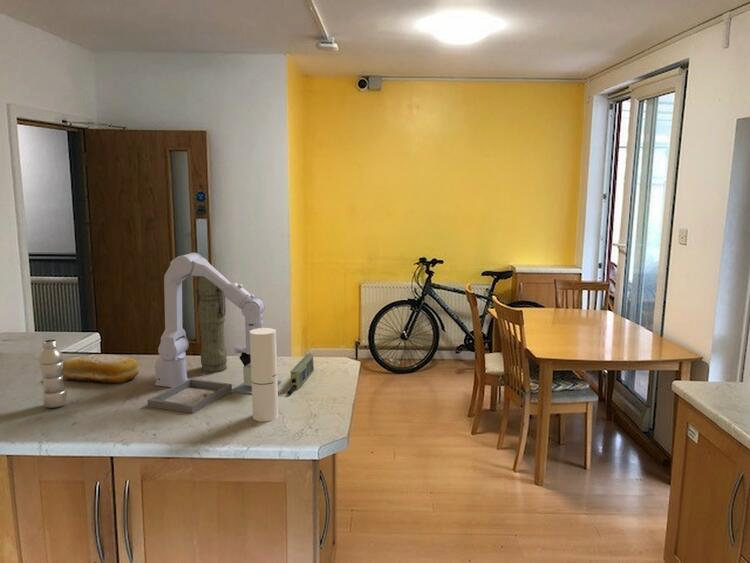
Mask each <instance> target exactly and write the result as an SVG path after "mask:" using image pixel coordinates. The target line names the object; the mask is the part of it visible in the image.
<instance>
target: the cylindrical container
mask: <svg viewBox="0 0 750 563" xmlns="http://www.w3.org/2000/svg"><path fill="white" fill-rule="evenodd" d="M276 350H277V330H276V329H274V328H271V327H263V328H258V329H253V330H251V331H250V354H251V381H252V395H251V399H252V400H251V401H252V402H251V405H252V418H253V420H254V421H257V422H271V421H274V420H276V419H277V418H278V417H279V397H278V396H279V393H278V392H279V391H278V389H279V388H278V387H279V386H278V385H277V380H278V362H277V361H278V359H277V358H278V356H277V353H276Z"/></svg>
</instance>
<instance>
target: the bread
mask: <svg viewBox="0 0 750 563" xmlns="http://www.w3.org/2000/svg"><path fill="white" fill-rule="evenodd" d="M139 370H140V369H139V362H138V361H137V360H135V359H134V358H131V357H128V356H124V355H117V354H116V355H115V354H104V353H103V354H101V353H100V354H93V353H92V354H88V355H81V356H80V355H79V356H75V357H70V358H68V359H67V360H65V361H63V378H65V379H67V380H70V381H71V380H72V381H83V382H89V383H90V382H91V383H95V384H96V383H97V384H98V383H99V384H113V385H115V384H119V383H122V382H123V383H124V382H126V381H130V380H134V379H135V377H136V376H138V374H139V372H140V371H139Z"/></svg>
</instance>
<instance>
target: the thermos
mask: <svg viewBox="0 0 750 563" xmlns="http://www.w3.org/2000/svg"><path fill="white" fill-rule="evenodd" d="M195 291H196V303H197V312H198V323H199V325H200V336H201V338H200V339H201V348H200V364H201V372H203V373H206V374H215V373H221V372H224V371H226V370H227V369H228V366H227V362H228V359H227V357H228V356H227V348H226V346H225V329H224V326H225V325H224V323H225V321H226V319H225V318H226V317H225V316H226V308H227V307H226V297H225V294H224V291H223V290H222V289H221V288H219V287H218V286H216V285H215V284H214V283H212V282H211V281H209V280H208V279H207V278H205V277H204V276H199V280H198V285H197V287H196V289H195Z"/></svg>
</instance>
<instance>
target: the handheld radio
mask: <svg viewBox="0 0 750 563" xmlns="http://www.w3.org/2000/svg"><path fill="white" fill-rule="evenodd" d="M314 365H315V364H314V354H313V353H306V355H304V356H303V357H302V359H300V360H299V361H298V362H297V364H296V365H295V366H294V367H293V368H292V369H291V370H290V381H291V384H290V385H291V386H290V388H289V390H287V394H288V396H290V395H292V394H293V392H294V391H298V389H299V390H300V389H301V387H302V386H303V385H304V383H305V382H306V381H307V380H308V379H309V378H310V377H311V375H312V374H313V373H314V372H315V368H314ZM313 371H314V372H313Z"/></svg>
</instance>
